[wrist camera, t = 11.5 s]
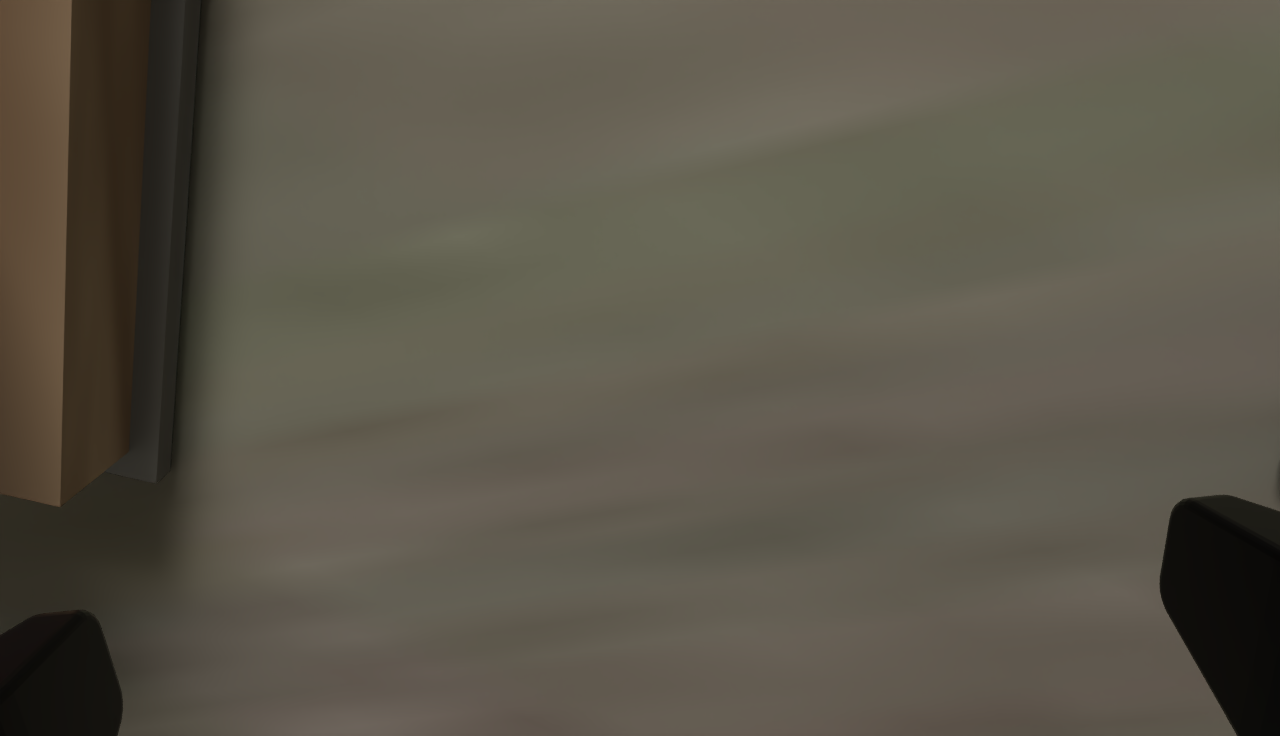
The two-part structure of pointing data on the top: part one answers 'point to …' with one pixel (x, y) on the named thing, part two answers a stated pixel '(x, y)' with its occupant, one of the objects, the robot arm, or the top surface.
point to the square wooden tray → (91, 237)
